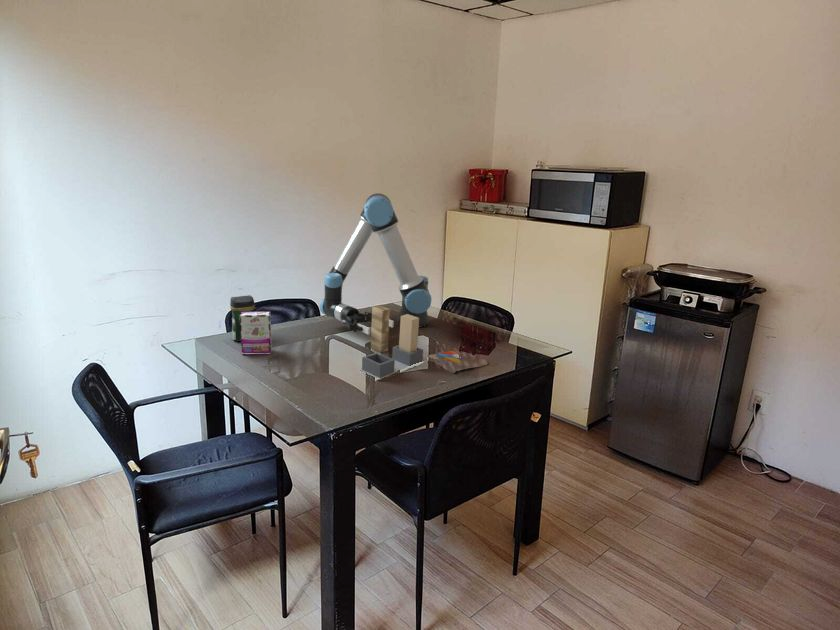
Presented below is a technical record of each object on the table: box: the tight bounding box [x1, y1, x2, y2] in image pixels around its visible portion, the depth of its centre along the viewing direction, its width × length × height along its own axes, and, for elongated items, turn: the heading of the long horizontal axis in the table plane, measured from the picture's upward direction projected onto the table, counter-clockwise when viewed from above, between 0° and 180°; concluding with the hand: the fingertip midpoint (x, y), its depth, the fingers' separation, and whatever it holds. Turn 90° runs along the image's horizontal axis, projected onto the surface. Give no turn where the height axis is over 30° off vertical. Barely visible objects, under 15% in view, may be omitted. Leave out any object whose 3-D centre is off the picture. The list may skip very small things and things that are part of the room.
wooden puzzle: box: [427, 350, 461, 363], centre depth 222 cm, size 18×19×4 cm
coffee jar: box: [229, 294, 256, 342], centre depth 229 cm, size 10×8×19 cm
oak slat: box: [370, 305, 391, 354], centre depth 227 cm, size 4×6×18 cm, turn 48°
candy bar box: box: [240, 311, 272, 354], centre depth 216 cm, size 11×5×16 cm, turn 102°
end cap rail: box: [359, 314, 424, 378], centre depth 210 cm, size 25×10×19 cm, turn 138°
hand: (381, 327), depth 226 cm, fingers open, 13 cm apart
